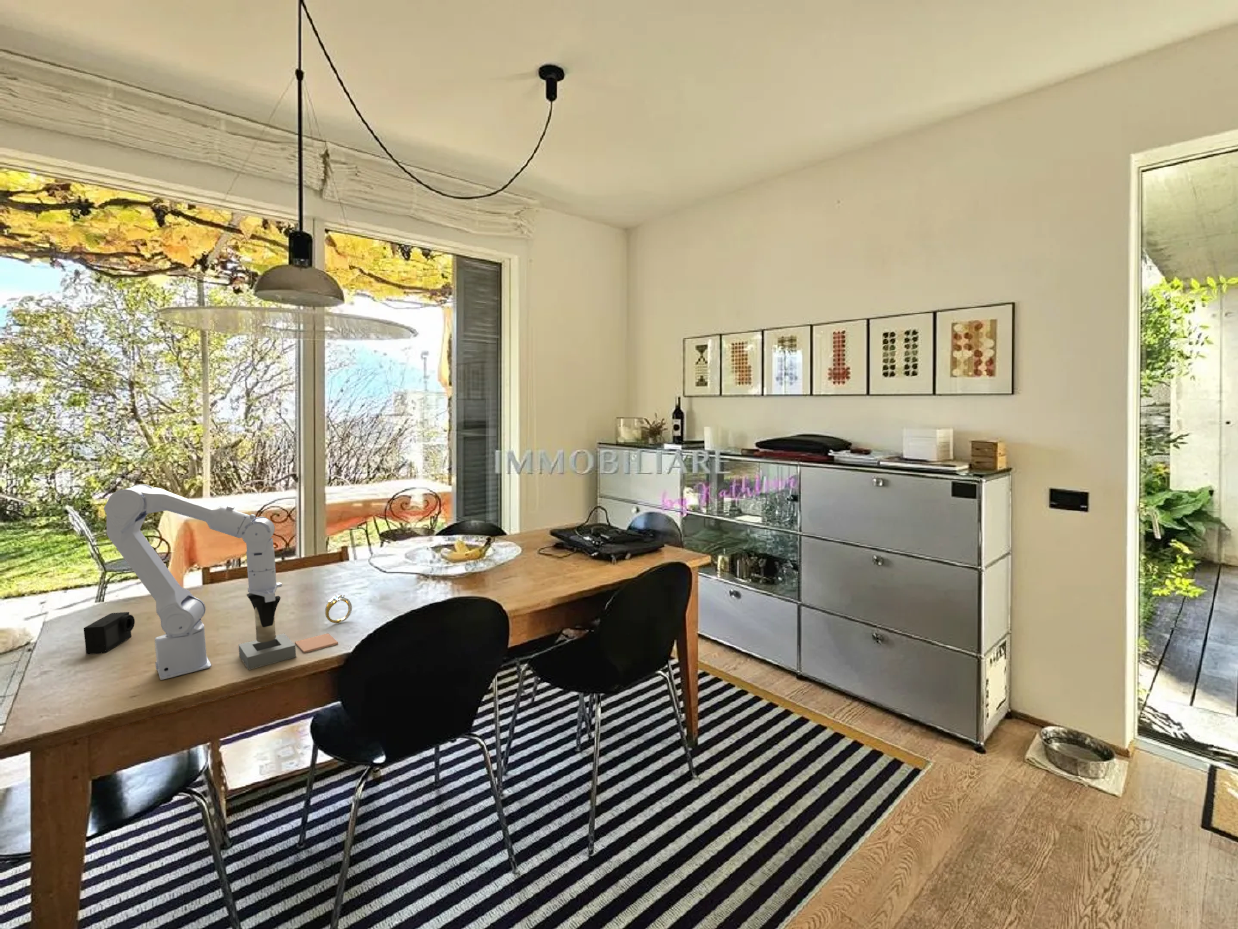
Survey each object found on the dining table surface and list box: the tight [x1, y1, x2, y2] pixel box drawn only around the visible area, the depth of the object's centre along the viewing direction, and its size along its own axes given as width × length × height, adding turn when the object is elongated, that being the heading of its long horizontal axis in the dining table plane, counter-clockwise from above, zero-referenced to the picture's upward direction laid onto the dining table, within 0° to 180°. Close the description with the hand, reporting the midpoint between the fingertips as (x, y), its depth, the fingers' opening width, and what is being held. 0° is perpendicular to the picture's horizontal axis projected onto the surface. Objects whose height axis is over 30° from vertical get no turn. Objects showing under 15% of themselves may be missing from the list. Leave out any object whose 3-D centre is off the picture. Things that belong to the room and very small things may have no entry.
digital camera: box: [83, 611, 136, 655], centre depth 149 cm, size 10×5×7 cm, turn 11°
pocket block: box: [238, 632, 297, 671], centre depth 142 cm, size 10×10×3 cm
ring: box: [324, 594, 353, 625], centre depth 163 cm, size 7×3×8 cm, turn 132°
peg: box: [253, 607, 277, 642], centre depth 141 cm, size 4×4×8 cm
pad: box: [294, 632, 339, 654], centre depth 150 cm, size 8×8×1 cm
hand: (265, 623), depth 141 cm, fingers closed on peg, 4 cm apart
